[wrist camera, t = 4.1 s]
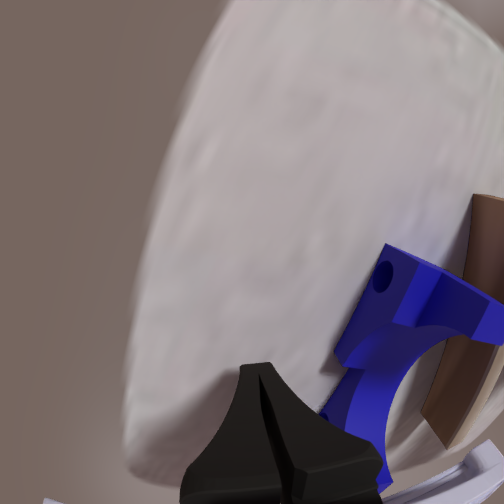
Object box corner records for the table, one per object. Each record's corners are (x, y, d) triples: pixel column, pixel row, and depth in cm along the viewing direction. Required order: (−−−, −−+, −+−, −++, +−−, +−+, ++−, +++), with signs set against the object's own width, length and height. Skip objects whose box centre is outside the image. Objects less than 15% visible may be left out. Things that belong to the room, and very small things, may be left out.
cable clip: (383, 242, 13) (470, 292, 7) (441, 267, 14) (518, 314, 8) (286, 424, 16) (309, 504, 10) (346, 427, 17) (377, 495, 11)
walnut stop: (488, 195, 13) (543, 209, 9) (435, 406, 17) (462, 441, 13) (472, 193, 13) (531, 208, 9) (420, 412, 17) (446, 449, 13)
